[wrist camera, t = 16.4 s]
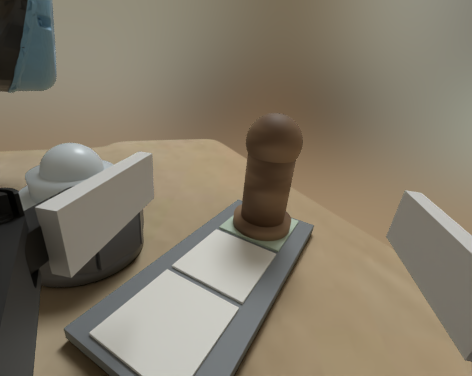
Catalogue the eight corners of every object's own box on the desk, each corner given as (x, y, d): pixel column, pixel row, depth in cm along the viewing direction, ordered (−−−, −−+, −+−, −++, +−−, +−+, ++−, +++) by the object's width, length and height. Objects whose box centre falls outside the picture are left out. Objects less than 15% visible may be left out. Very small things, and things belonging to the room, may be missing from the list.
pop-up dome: (2, 216, 19) (-22, 142, 17) (94, 185, 25) (85, 127, 23) (60, 253, 16) (40, 170, 14) (148, 208, 22) (145, 145, 20)
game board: (66, 337, 15) (63, 325, 14) (237, 205, 31) (238, 198, 30) (193, 448, 11) (194, 436, 10) (312, 231, 27) (314, 223, 27)
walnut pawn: (222, 226, 25) (232, 110, 20) (248, 204, 29) (261, 106, 25) (277, 249, 22) (301, 123, 18) (296, 221, 27) (320, 115, 22)
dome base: (-6, 253, 20) (-25, 202, 18) (100, 208, 27) (95, 168, 25) (63, 308, 16) (49, 251, 14) (165, 239, 24) (164, 195, 22)
